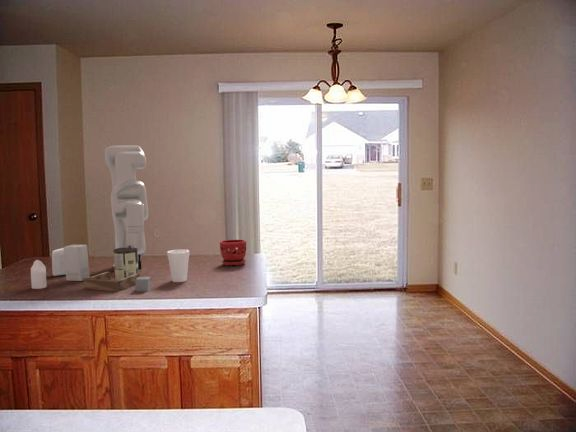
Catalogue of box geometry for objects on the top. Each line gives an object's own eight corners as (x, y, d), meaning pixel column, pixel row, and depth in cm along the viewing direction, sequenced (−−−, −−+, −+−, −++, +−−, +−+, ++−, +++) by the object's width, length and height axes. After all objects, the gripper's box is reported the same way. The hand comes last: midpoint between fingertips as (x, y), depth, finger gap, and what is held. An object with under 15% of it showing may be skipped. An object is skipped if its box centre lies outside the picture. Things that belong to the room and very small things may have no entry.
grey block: (138, 288, 241) (138, 276, 241) (150, 288, 242) (150, 276, 241) (135, 291, 236) (135, 279, 236) (148, 291, 237) (147, 279, 236)
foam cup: (171, 283, 249) (170, 253, 247) (165, 279, 257) (164, 250, 255) (193, 281, 253) (192, 251, 252) (186, 277, 261) (185, 248, 260)
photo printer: (74, 272, 277) (73, 246, 276) (76, 273, 274) (75, 247, 272) (51, 275, 271) (50, 249, 270) (53, 276, 268) (52, 250, 266)
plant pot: (251, 263, 292) (251, 239, 290) (236, 267, 281) (235, 243, 280) (231, 260, 299) (230, 237, 297) (215, 265, 288) (214, 241, 286)
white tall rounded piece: (43, 257, 249) (46, 259, 245) (45, 285, 250) (48, 287, 246) (28, 259, 246) (31, 261, 241) (30, 287, 247) (33, 289, 242)
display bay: (107, 280, 257) (106, 271, 257) (140, 282, 252) (139, 273, 251) (83, 288, 242) (83, 279, 242) (118, 291, 237) (117, 281, 236)
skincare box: (90, 278, 262) (88, 244, 260) (80, 281, 256) (78, 246, 254) (74, 277, 265) (72, 243, 263) (65, 280, 259) (62, 246, 257)
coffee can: (125, 277, 264) (124, 246, 262) (143, 278, 259) (142, 247, 258) (109, 282, 254) (108, 250, 253) (128, 283, 250) (126, 251, 248)
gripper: (137, 227, 270) (139, 266, 272) (118, 231, 256) (120, 272, 258) (151, 227, 268) (153, 266, 270) (133, 232, 254) (135, 273, 256)
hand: (137, 269), depth 264 cm, fingers closed
